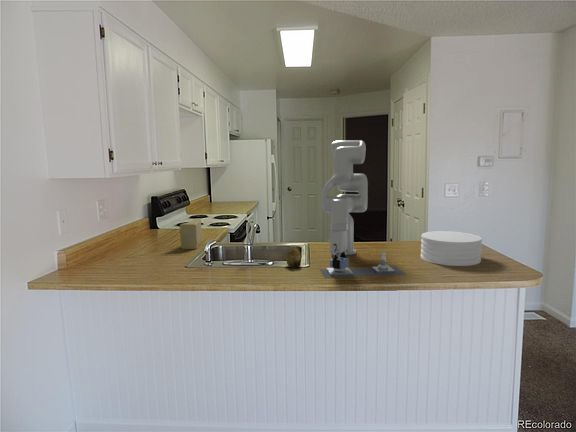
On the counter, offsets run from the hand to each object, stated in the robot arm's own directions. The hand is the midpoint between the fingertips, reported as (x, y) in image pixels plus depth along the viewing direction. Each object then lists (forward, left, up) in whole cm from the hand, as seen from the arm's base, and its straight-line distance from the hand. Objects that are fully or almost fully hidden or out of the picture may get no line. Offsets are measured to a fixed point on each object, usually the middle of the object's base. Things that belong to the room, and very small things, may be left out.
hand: (339, 266), depth 178 cm
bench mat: (+1, +10, -3) cm, 11 cm away
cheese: (-70, -73, -4) cm, 101 cm away
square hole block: (0, 0, 0) cm, 0 cm away
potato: (-15, -19, -3) cm, 24 cm away
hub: (0, 0, -3) cm, 3 cm away
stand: (0, +20, -3) cm, 20 cm away
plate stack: (-17, +60, -4) cm, 63 cm away
